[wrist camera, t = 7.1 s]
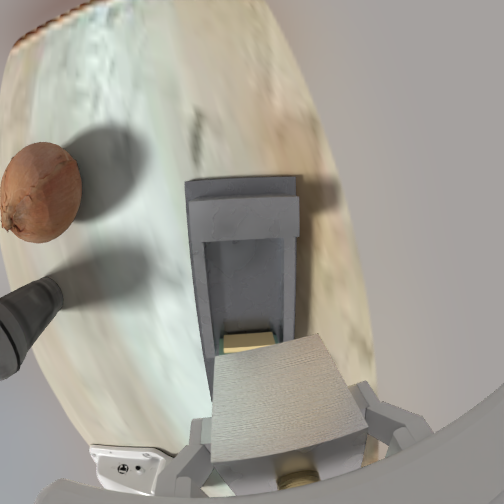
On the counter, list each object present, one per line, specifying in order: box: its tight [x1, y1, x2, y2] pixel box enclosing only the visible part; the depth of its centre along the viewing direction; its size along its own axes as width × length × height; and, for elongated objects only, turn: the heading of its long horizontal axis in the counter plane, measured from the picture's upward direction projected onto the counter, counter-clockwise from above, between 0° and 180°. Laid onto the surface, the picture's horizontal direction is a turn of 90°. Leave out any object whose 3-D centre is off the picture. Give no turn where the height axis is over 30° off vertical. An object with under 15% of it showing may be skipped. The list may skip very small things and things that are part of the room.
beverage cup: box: [0, 277, 63, 381], centre depth 16 cm, size 7×7×20 cm
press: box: [185, 177, 299, 402], centre depth 25 cm, size 10×26×6 cm, turn 2°
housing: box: [211, 333, 369, 496], centre depth 9 cm, size 5×5×7 cm
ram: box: [219, 332, 279, 356], centre depth 25 cm, size 6×11×8 cm, turn 2°
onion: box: [0, 142, 82, 243], centre depth 19 cm, size 10×9×10 cm
